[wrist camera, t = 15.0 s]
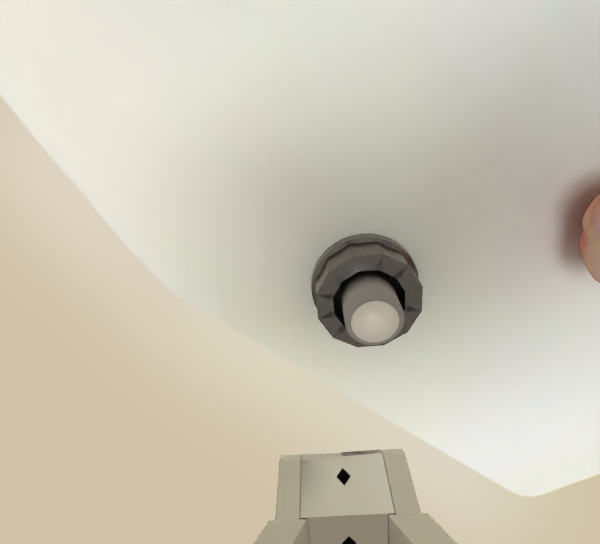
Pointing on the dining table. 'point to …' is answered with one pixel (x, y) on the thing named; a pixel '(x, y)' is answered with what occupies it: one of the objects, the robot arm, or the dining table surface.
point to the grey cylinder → (371, 307)
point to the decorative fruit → (591, 238)
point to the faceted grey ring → (355, 258)
